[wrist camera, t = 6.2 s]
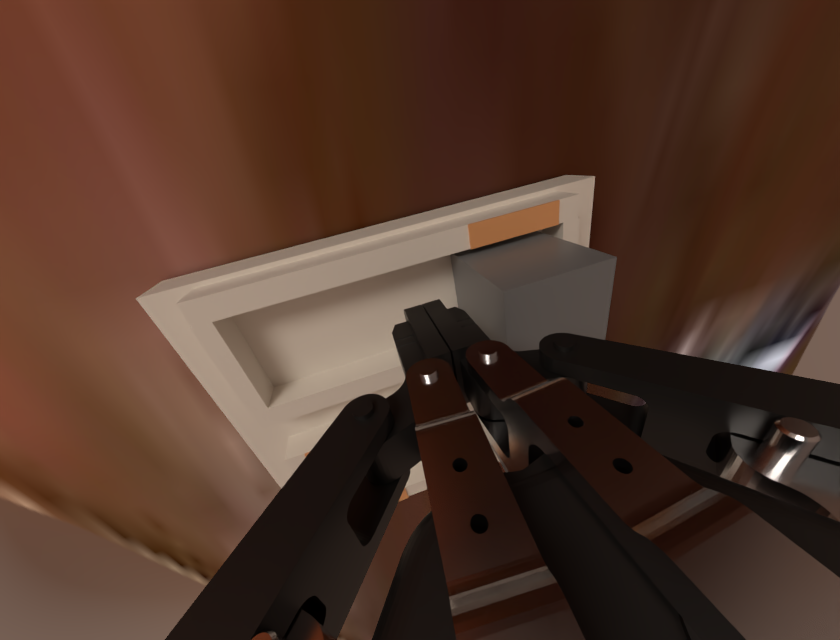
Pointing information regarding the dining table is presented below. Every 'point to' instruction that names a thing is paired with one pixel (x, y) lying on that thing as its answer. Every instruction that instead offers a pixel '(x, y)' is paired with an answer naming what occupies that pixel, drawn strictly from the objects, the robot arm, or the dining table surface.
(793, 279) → the dining table surface
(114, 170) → the dining table surface
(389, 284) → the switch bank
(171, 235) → the dining table surface
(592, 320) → the tab
